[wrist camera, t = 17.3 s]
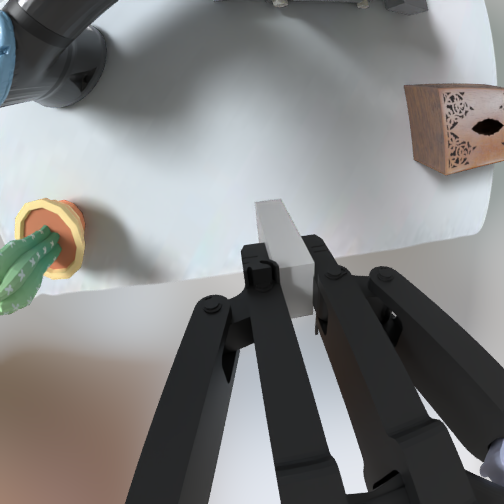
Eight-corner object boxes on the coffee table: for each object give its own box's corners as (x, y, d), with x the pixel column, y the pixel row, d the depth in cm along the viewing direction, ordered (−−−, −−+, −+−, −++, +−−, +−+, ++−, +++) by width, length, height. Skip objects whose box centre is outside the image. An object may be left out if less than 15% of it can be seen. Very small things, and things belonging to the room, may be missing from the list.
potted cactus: (76, 168, 41) (-15, 237, 19) (114, 242, 49) (60, 342, 27) (24, 203, 42) (-55, 275, 21) (60, 266, 50) (5, 355, 28)
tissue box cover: (485, 84, 37) (518, 90, 29) (490, 144, 44) (520, 156, 36) (402, 85, 39) (437, 88, 30) (413, 159, 46) (445, 175, 37)
